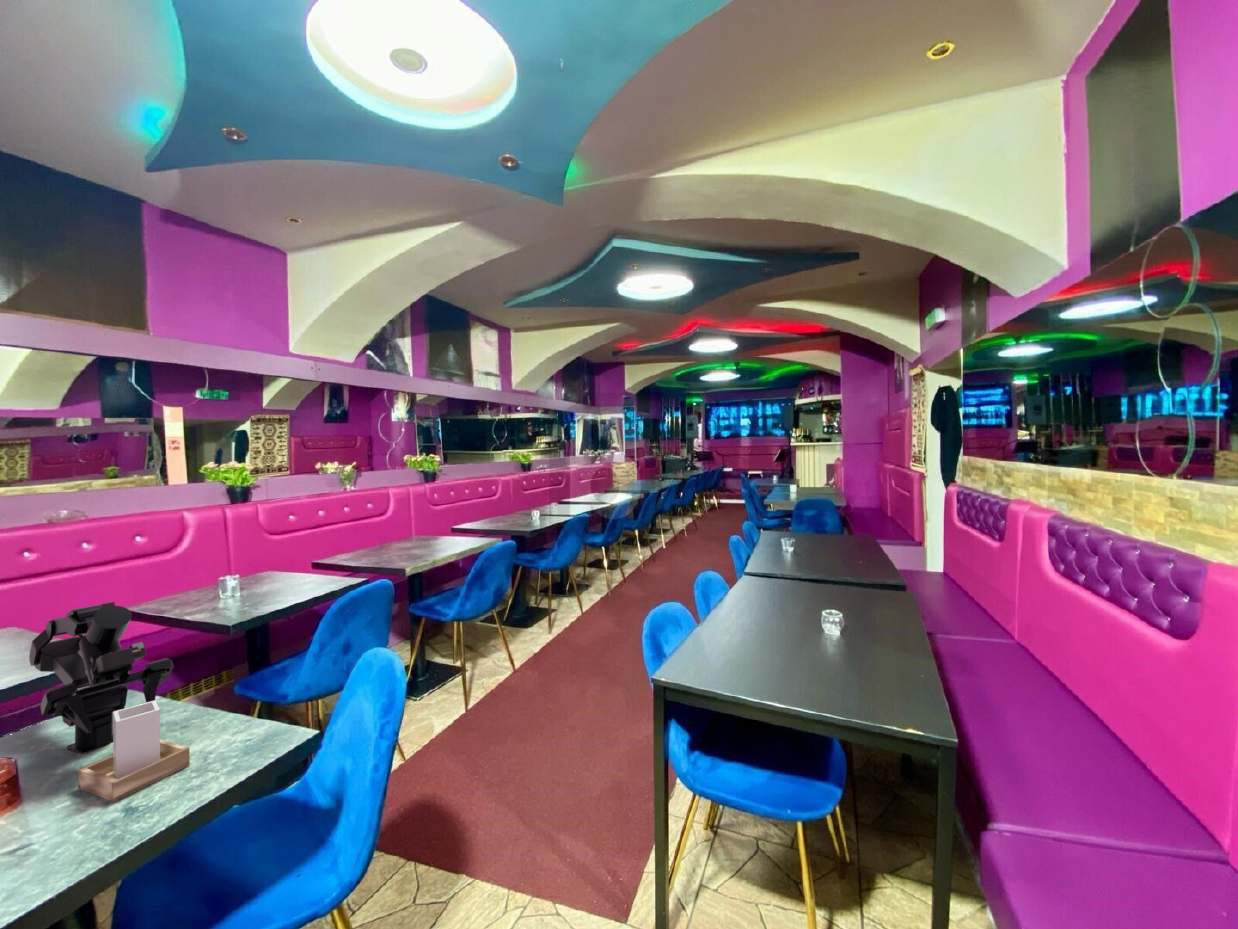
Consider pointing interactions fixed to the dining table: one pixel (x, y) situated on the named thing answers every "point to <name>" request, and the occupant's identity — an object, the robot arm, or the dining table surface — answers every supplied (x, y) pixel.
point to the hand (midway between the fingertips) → (121, 721)
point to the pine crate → (106, 786)
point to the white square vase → (135, 738)
